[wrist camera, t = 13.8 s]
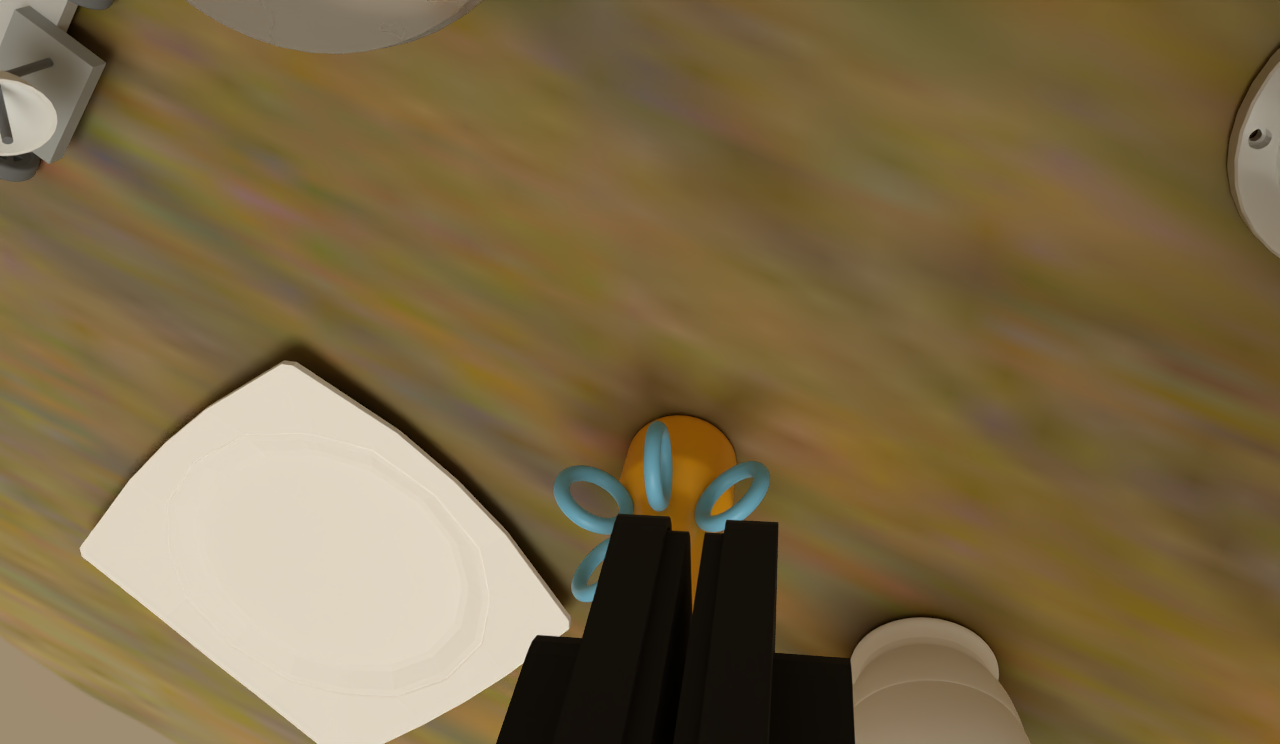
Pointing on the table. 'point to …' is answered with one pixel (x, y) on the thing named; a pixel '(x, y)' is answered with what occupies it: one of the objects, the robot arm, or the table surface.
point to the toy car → (41, 82)
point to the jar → (930, 687)
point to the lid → (330, 21)
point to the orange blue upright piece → (667, 488)
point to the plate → (324, 561)
